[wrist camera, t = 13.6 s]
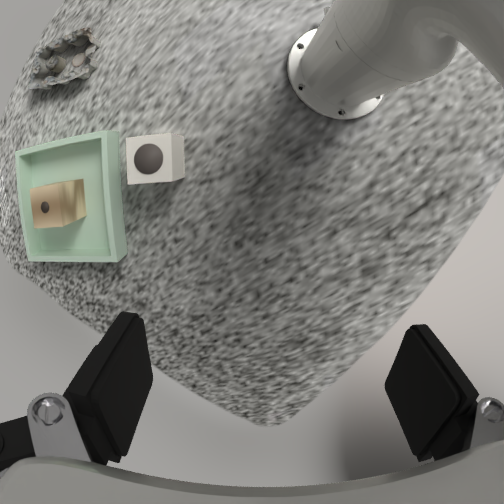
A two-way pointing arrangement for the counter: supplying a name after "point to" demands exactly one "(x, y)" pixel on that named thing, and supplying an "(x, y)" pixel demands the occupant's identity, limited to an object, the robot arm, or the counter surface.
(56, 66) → the egg carton
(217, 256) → the counter surface
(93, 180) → the tray
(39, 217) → the maple block
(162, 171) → the ivory block
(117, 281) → the counter surface
